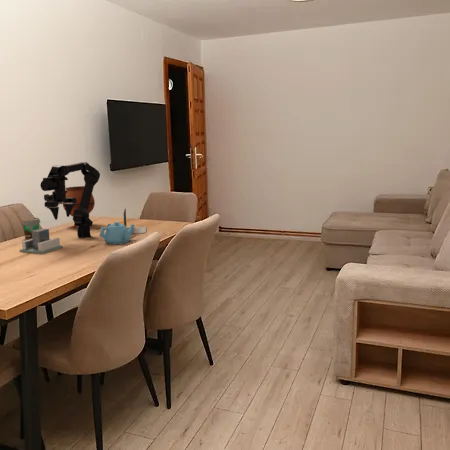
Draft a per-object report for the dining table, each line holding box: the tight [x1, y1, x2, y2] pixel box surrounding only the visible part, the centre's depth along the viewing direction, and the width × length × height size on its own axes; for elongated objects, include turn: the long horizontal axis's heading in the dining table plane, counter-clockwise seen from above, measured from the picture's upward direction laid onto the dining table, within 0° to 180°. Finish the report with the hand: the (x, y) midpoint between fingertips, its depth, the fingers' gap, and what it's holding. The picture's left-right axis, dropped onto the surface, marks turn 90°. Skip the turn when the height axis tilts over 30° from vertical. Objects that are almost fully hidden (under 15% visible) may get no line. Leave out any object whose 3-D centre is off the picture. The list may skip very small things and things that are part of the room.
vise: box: [19, 237, 64, 255], centre depth 240 cm, size 15×14×5 cm
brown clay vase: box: [62, 185, 96, 229], centre depth 300 cm, size 19×19×25 cm
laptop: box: [123, 207, 147, 235], centre depth 285 cm, size 18×12×13 cm
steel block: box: [31, 228, 51, 249], centre depth 239 cm, size 4×7×9 cm, turn 158°
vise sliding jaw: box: [21, 238, 33, 250], centre depth 242 cm, size 13×4×4 cm, turn 158°
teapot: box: [99, 221, 135, 245], centre depth 256 cm, size 15×15×11 cm
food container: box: [22, 217, 41, 239], centre depth 271 cm, size 12×6×10 cm, turn 168°
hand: (62, 218), depth 255 cm, fingers open, 9 cm apart
